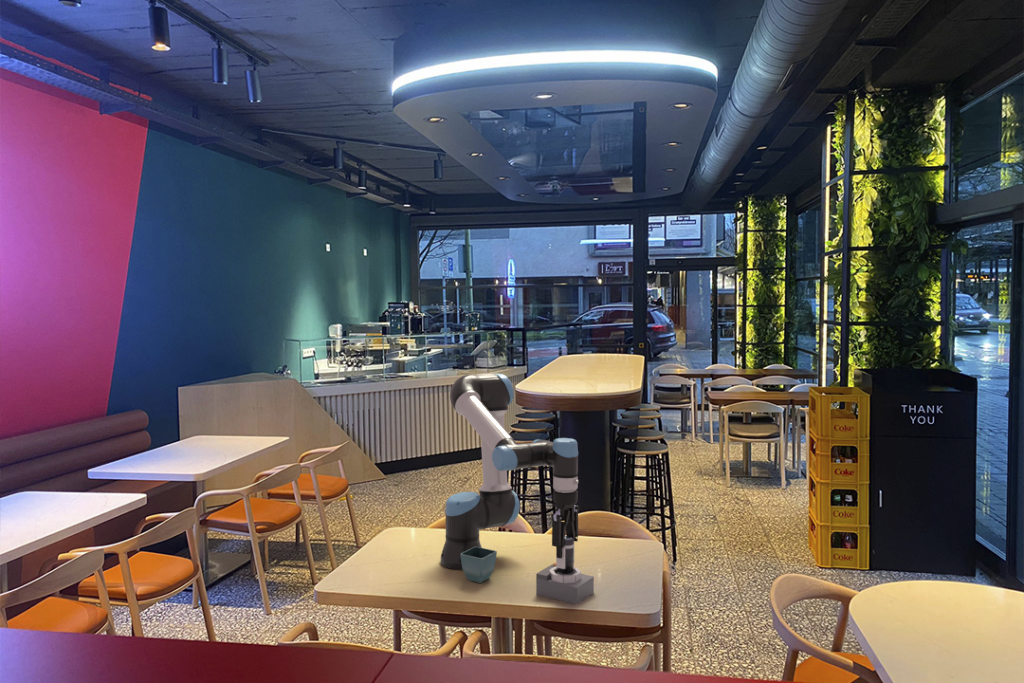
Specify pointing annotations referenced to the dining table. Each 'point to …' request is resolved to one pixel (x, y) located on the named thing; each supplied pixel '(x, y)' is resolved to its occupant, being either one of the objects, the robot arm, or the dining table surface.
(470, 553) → the flower pot
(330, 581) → the dining table surface
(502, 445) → the robot arm
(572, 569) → the lens
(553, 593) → the camera body
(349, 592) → the dining table surface
